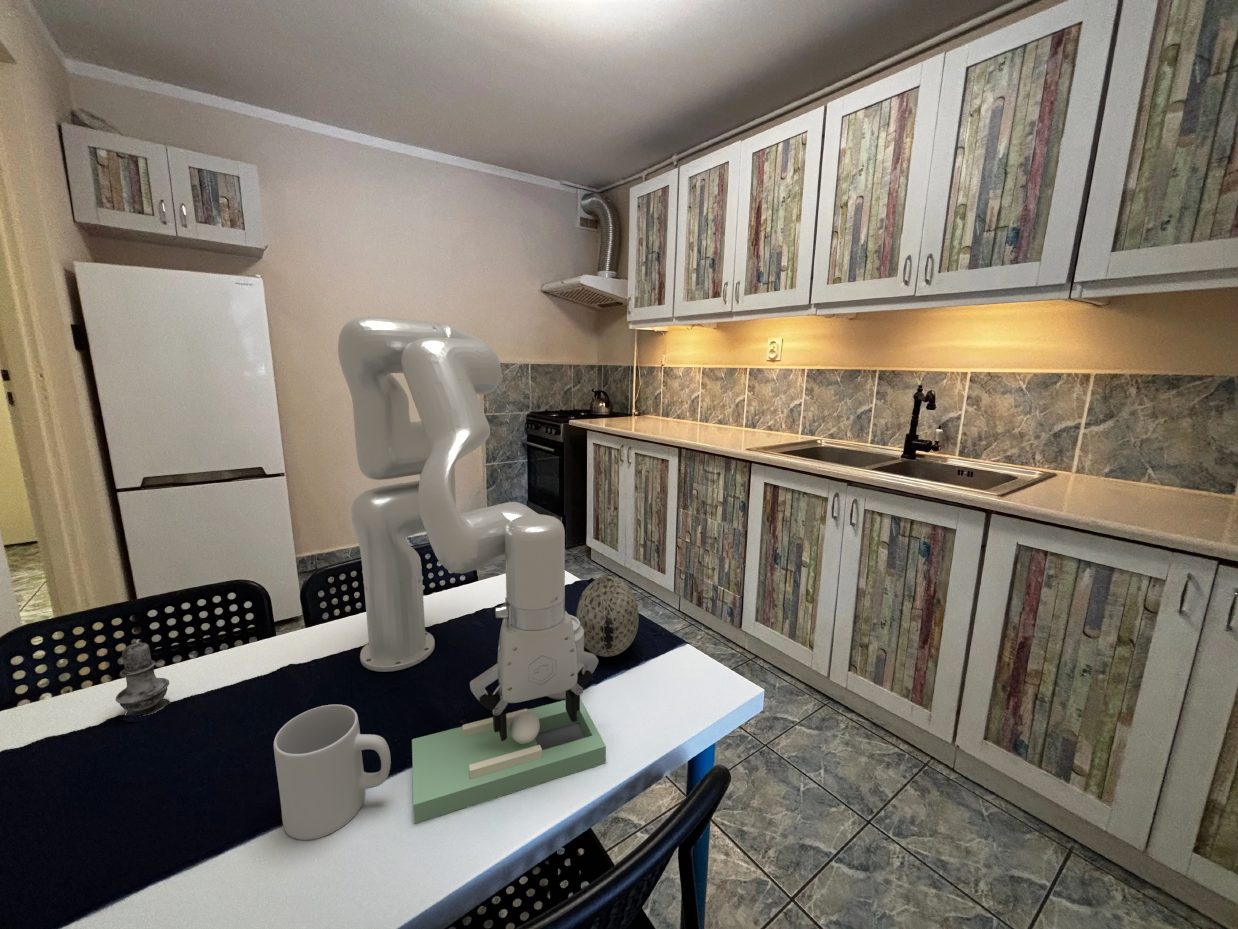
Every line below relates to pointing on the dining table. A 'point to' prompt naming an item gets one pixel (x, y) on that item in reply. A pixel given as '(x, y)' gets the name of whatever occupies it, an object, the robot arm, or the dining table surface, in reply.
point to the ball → (524, 727)
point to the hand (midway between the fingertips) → (537, 724)
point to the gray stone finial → (141, 682)
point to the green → (499, 759)
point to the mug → (324, 770)
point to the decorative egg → (608, 616)
